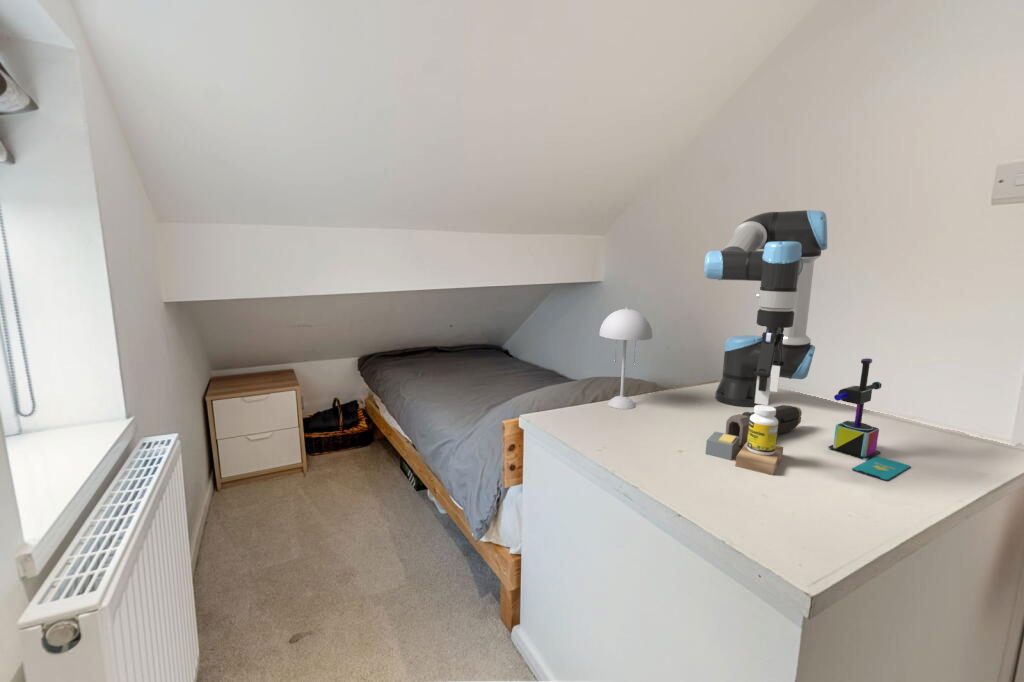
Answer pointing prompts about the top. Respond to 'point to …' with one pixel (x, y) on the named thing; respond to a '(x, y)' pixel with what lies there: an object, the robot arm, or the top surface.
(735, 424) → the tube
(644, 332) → the lamp
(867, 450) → the colourful clamp stand
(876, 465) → the smartphone
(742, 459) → the board
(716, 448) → the block
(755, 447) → the pill bottle
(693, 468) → the top surface
